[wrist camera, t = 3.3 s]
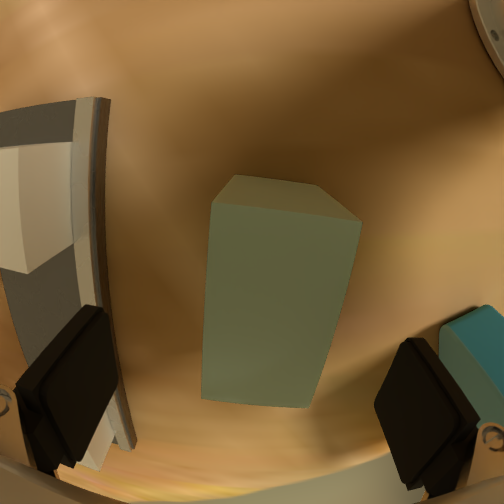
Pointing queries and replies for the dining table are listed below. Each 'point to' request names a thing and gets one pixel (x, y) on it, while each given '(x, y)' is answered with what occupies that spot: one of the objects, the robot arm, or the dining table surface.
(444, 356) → the data package
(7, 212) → the mounted modules
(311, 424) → the dining table surface
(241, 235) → the module block
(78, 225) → the rail plate
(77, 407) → the robot arm
